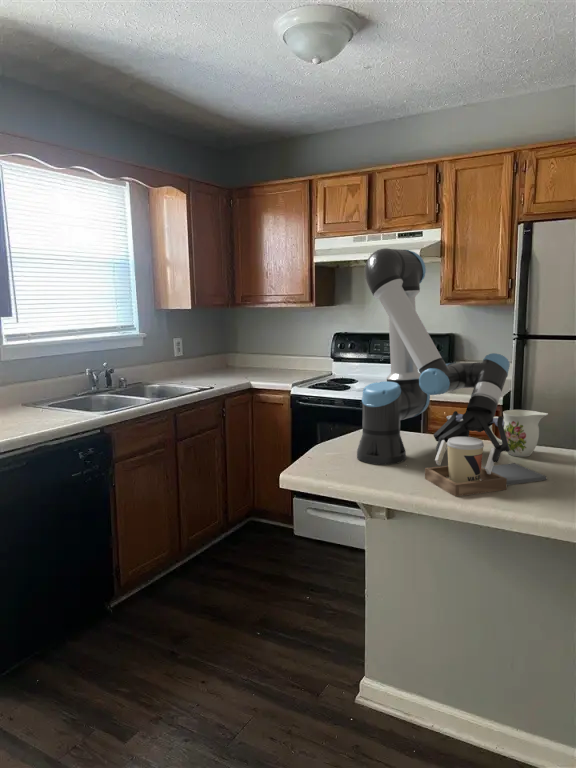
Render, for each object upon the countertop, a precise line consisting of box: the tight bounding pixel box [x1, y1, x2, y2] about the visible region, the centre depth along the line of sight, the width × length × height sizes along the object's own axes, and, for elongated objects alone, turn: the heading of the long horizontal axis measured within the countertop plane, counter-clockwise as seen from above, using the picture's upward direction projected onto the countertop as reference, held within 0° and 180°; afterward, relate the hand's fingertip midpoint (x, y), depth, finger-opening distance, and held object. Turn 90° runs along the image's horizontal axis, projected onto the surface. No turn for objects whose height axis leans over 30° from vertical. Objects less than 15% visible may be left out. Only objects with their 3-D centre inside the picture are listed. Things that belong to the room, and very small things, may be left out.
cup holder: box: [424, 465, 507, 498], centre depth 149 cm, size 15×15×3 cm
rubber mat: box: [482, 462, 547, 486], centre depth 155 cm, size 13×13×1 cm
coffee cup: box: [446, 436, 485, 483], centre depth 148 cm, size 9×9×12 cm
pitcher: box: [489, 409, 549, 457], centre depth 176 cm, size 11×18×14 cm, turn 50°
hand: (461, 467), depth 147 cm, fingers open, 13 cm apart
